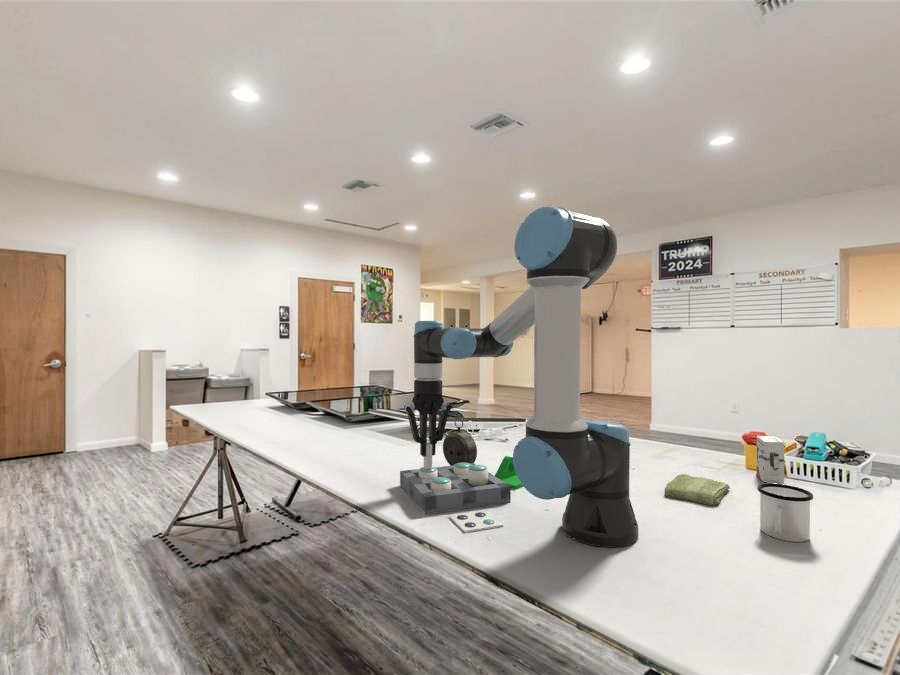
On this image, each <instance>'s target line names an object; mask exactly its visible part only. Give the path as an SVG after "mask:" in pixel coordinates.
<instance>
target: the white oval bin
mask: <svg viewBox="0 0 900 675" xmlns="http://www.w3.org/2000/svg"><path fill="white" fill-rule="evenodd" d="M756 488H757V489H756V490H757V491H758V492H759V493H760V494H759V496H760V500H759V502H760V503H759V504H760V508H759V509H760V512H759V515H760V517H759V522H760V524H759V526H760V528H759V529H760V530H761V531H762V532H763V533H764V534H765V535H767V536H769V537H771V536H772V537H771V538H775V539H777V540H781V541H784V540H785V542H790V541H791V542H793V543H803V541H804V542H807V541H809V540H810V538H811V536H810V535H811V534H810V532H811V528H810V526H811V522H810V521H811V520H810V519H811V518H810V517H811V515H810V514H811V513H810V512H811V501H812V500H813V499H814V494H813V493H812V492H810V491H808V490H806V489H804V488H801V487H798V486H794V485H788V484H784V485H783V484H773V483H760V484H758V485H757V487H756Z"/></svg>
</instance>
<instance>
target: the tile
mask: <svg viewBox="0 0 900 675" xmlns="http://www.w3.org/2000/svg"><path fill="white" fill-rule="evenodd" d="M448 517H449V519H450V520H451V521H453V523H455V525H456V526H457V527H458V528H459V529H460V530H461V531H462V532H463V533H465V534H467V533H471V532H472V533H473V532H478V531H486V530H491V529H498V528H502V527H504V524H503V523H502V522H501V521H499V520H498V519H497V518H496V517H494V515H492V514H491V513H489V512H488V511H487V510H486V509H485V510H477V511H471V512H469V511H468V512H464V513H458V514H457V513H455V514H449V515H448Z"/></svg>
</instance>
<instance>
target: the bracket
mask: <svg viewBox="0 0 900 675" xmlns="http://www.w3.org/2000/svg"><path fill="white" fill-rule="evenodd" d="M494 476H495V477H497V478H499V479H500V480H502V481H503V482H505V483H507V484H508V485H510V486H511V489H512V490H514V491H516V490H519V489H522V488H524V487H523V484H522V482H520V481H519V479H518V477H517V475H516V472H515V469H514V465H513V456H508V455H505V456H504V457H503V458H502V461H501V463H500V465H499V466H498V468H497V471H496V472H495V474H494Z"/></svg>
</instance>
